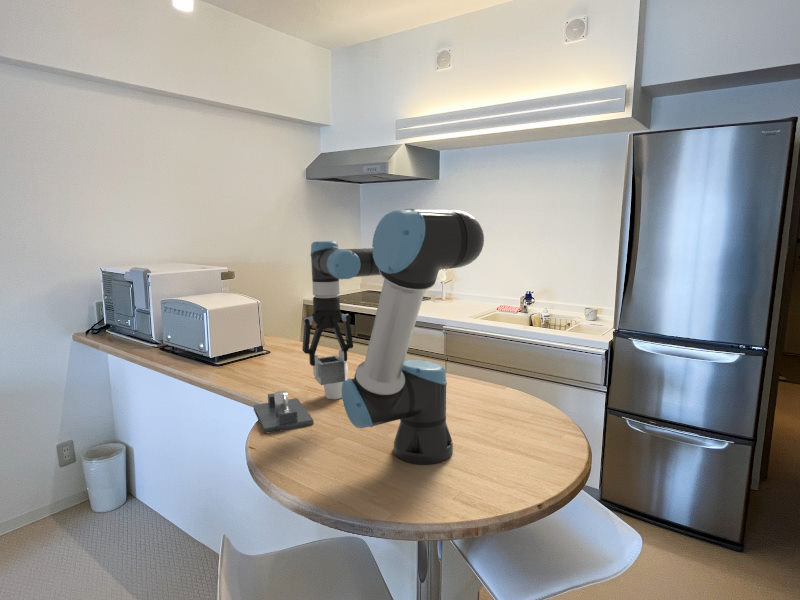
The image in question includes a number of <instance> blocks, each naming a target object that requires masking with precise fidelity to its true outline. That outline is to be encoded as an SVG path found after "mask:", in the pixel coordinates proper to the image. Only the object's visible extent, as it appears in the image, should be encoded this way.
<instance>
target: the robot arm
mask: <svg viewBox="0 0 800 600" xmlns="http://www.w3.org/2000/svg"><path fill="white" fill-rule="evenodd" d="M484 244H485V235H484V230H483V228H482V226H481V225H480V222H479V221H478V220H477V219H476V218H475V217H474V216H473V215H471V214H469V213H467V212H465V211H462V210H457V209H414V208H405V209H402V210H401V209H399V210H392V211H390V212H388V213H387V214H385V215H383V216H382V218H381V219H380V220H379V222H378V223H377V226H376V227H375V230H374V233H373V237H372V245H371V246H372V247H371V248H344V249H343V248H341V249H340V248H339V244H338V242H337V241H334V240H322V241H321V240H319V241H313V242H311V245H310V257H311V258H310V259H311V260H310V263H311V278H312V279H311V281H312V283H311V284H312V295H313V298H312V305H313V307H312V308H313V312H312V315H311V316H309V317H303V318H302V322H303V323H302V324H303V326H304V328H303V338H302V340H303V341H302V349H301V350H302V352H303V353H304V354H308V355H309V365H310V366H312V369H313V371H312V372H313V373H312V374H313V376H314V378H315V377H319V374H318V358H319V355H318V354H317V353H316V351H317V349H318V346H319V343H320V339H321V336H322V333H323V331H324V330H326V329H332V330H333V332H334V335H335V337H336V339H337V342H338V344H339V347H340V348H341V349H338V357H339V358H341V359H342V360H343V361H347V362H348V352H349V349H353V348H354V342H353V335H352V327H351V319H352V316H351V315H350V314H349V313H345V314H344V313H342V312H341V297H340V296H339V295H340V291H341V290H340V280H351V279H352V278H358V277H359V278H360V277H361V278H362V277H369V276H370V277H373V276H381V277H382V278H383V284H382V288H381V291H380V295H379V300H378V304H377V308H376V313H375V318H374V322H373V326H372V330H371V335H370V338H369V342H368V347H367V350H366V354H365V360H364V361H362V362H360V363H359V364H358V365H357V367H356V368H355V373H354V377H353V378H347V380H345V381H344V382H343V384H342V398H341V400H342V403H343V406H344V409H345V412H346V415H347V418H348V420H349V421H350V423H352V425H353V426H354V427H356V428H358V429H364V428H365V429H367V428H373V427H375V426H379V425H382V424H383V425H384V424H386V423H387V424H388V423H391V422H396V421H400V422H399V425H398V428H397V431H396V433H395V434H396V435H395V437H394V440H393V453H394V455H395V456H396V457H397V458H398V459H400V460H402V461H403V462H406V463H410V464H414V465H433V464H438V463H442V462H444V461H447V460H448V459H449V458H450V457H451V456H452V455H453V452H454V448H453V447H454V445H453V439H452V435H451V433H450V431H449V427H448V424H447V385H448V382H447V374H446V373H447V372H446V370H445V368H444V367H443V366H442V365H440V364H439V363H435V362H432V361H428V360H427V361H426V360H419V359H418V360H417V359H409V360H408V359H407V360H406V356H407V353H408V350H409V346H410V343H411V339H412V337H413V333H414V328H415V326H416V323H417V320H418V315H419V312H420V308H421V305H422V302H423V299H424V296H425V292H426V290H429V289H431V288H432V287H434V286H435V284H436V282H437V279H438V274H439V272H440V270H448V269H457V268H463V267H465V266H468V265H470V264H471V263H473V262H474V261H475V260H477V258H479V256H480V254H481V252H482V251H483V247H484ZM340 320H341V321H342V322H343V329H344V336H345V337H343V335H342V332H341V330H340V327H339V324H338V323H339V322H340ZM313 322H314V323H315V324H316V326H315V331H314V333H313V337H312V340H311V338H310V337H311V330H312V329H311V325H312V324H313ZM344 338H345V340H344ZM310 340H311V341H310ZM345 341H346V342H345ZM310 342H311V343H310ZM344 372H345V368H344Z"/></svg>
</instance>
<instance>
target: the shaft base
mask: <svg viewBox="0 0 800 600" xmlns="http://www.w3.org/2000/svg"><path fill="white" fill-rule="evenodd" d="M253 411H254V414H255V415H256V418H257V420H258V422H259V421H260V422H259V424H261V425H260V426H262V427H261V429H262V428H263V429H262V431H263V430H264V431H263V433H265V434H267V433H266V432H270V433H274V432H273V431H276V432H280V430H281V431H286V430H291V428H292V429H296V428H301V427H308V426H313V425H314V419H313V417H312V416H311V415H310V413H309V412H308V410H307V408H305V406H304V405H303V403H302V402H301V401H300V400H299V398H298V397H296V398H290V399H289V392H288V391H287V390H279V391H276V392H273V393H267V402H264V403H259V404H258V403H257V404H253ZM285 429H286V430H285Z"/></svg>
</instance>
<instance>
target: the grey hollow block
mask: <svg viewBox="0 0 800 600" xmlns="http://www.w3.org/2000/svg"><path fill="white" fill-rule="evenodd" d="M318 374H319V377H315V376H314V379H315V380H316V381H317V382H318V383H319V385H320V386H324V385H326V384H332V383H338V382H344V381H345V372H344V361H343V360H342V359H341V358H339V355H330V356H323V357H318Z"/></svg>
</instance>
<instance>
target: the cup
mask: <svg viewBox="0 0 800 600" xmlns="http://www.w3.org/2000/svg"><path fill="white" fill-rule="evenodd" d="M344 368H345V380H348V373H349V372H348V371H349V368H348V360H347V361H344ZM342 384H343V382H338V383H332V384H326V385H323V390H324V396H325V398H326V399H329V400H340V399H342Z"/></svg>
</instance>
